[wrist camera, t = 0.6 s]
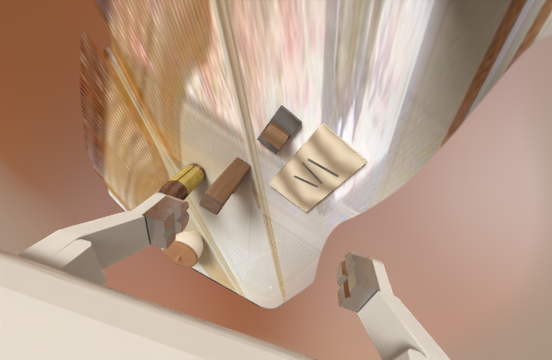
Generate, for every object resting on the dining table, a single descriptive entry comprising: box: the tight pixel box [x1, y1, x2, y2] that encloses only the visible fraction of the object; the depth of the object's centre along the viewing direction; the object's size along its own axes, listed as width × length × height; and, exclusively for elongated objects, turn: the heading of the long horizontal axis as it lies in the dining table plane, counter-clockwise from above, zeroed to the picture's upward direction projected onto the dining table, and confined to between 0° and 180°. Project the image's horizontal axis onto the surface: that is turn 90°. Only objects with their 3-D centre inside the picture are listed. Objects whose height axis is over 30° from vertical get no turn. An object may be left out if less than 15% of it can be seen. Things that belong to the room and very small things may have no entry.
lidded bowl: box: [164, 230, 203, 267], centre depth 72 cm, size 13×13×11 cm
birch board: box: [269, 123, 367, 212], centre depth 51 cm, size 22×14×2 cm, turn 143°
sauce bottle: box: [158, 164, 205, 200], centre depth 52 cm, size 6×6×20 cm
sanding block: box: [257, 106, 302, 154], centre depth 46 cm, size 10×6×7 cm, turn 143°
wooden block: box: [200, 158, 250, 215], centre depth 50 cm, size 9×4×18 cm, turn 148°
